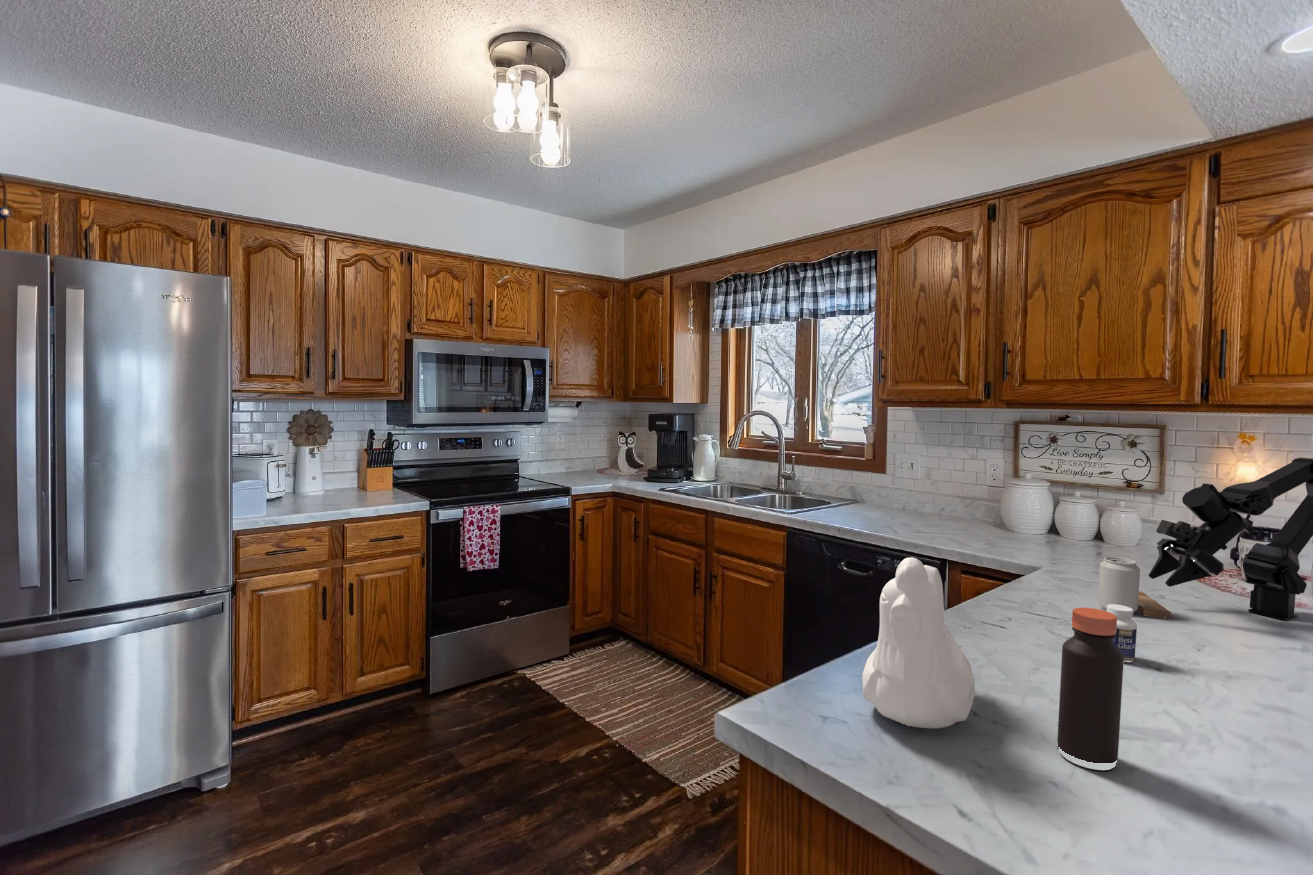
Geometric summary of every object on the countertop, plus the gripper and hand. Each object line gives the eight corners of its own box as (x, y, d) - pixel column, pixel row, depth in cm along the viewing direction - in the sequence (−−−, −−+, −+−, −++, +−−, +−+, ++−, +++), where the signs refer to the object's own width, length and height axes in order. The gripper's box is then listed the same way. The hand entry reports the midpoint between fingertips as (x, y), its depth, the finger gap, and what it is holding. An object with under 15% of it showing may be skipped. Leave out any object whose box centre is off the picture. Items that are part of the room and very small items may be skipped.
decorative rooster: (945, 760, 85) (953, 578, 83) (838, 717, 96) (843, 556, 94) (1005, 699, 103) (1012, 547, 101) (909, 669, 114) (914, 532, 112)
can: (1124, 605, 151) (1127, 555, 150) (1145, 616, 143) (1148, 564, 142) (1090, 604, 151) (1093, 554, 151) (1110, 615, 144) (1113, 562, 143)
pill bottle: (1119, 665, 116) (1122, 613, 116) (1092, 653, 121) (1095, 603, 121) (1142, 662, 118) (1145, 610, 117) (1114, 651, 123) (1117, 601, 122)
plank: (1117, 595, 158) (1118, 589, 158) (1141, 597, 157) (1142, 591, 157) (1143, 615, 143) (1144, 609, 143) (1170, 618, 142) (1170, 611, 142)
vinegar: (1092, 744, 89) (1100, 604, 88) (1130, 772, 83) (1139, 622, 81) (1045, 744, 89) (1052, 604, 88) (1079, 772, 82) (1087, 622, 81)
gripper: (1164, 504, 153) (1113, 549, 156) (1202, 511, 136) (1143, 562, 139) (1206, 537, 150) (1153, 582, 154) (1250, 549, 133) (1189, 600, 136)
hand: (1158, 581), depth 146 cm, fingers open, 9 cm apart
